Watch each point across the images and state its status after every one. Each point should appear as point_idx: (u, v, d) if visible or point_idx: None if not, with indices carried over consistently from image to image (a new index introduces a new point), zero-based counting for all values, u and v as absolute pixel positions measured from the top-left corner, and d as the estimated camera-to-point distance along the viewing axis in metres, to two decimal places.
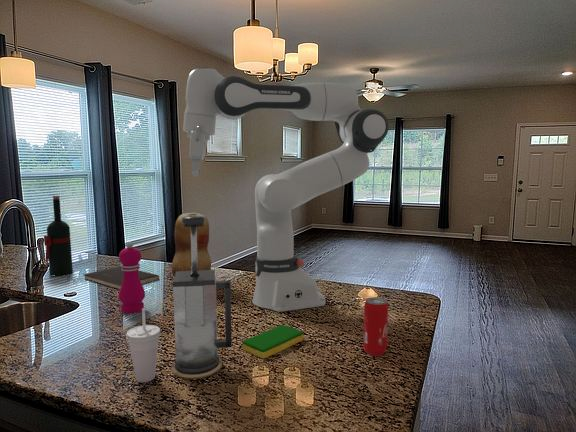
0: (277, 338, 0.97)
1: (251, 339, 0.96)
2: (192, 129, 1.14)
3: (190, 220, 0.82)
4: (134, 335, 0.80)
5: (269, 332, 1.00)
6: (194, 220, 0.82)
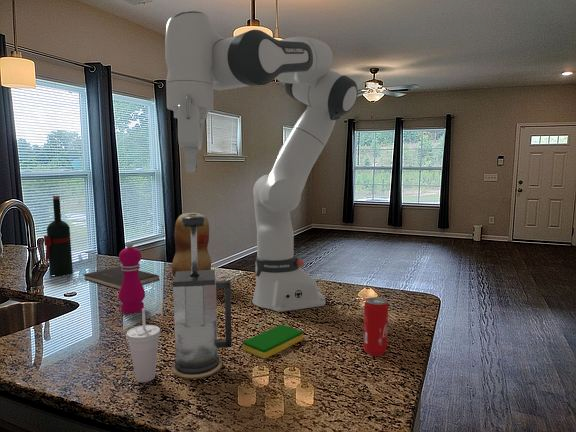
0: (277, 338, 0.97)
1: (251, 339, 0.96)
2: (180, 103, 0.77)
3: (190, 220, 0.82)
4: (134, 335, 0.80)
5: (269, 332, 1.00)
6: (194, 220, 0.82)
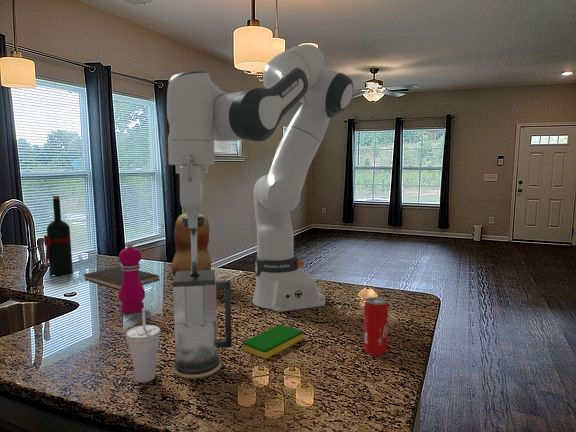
0: (277, 338, 0.97)
1: (251, 339, 0.96)
2: (181, 162, 0.78)
3: None
4: (134, 335, 0.80)
5: (269, 332, 1.00)
6: None
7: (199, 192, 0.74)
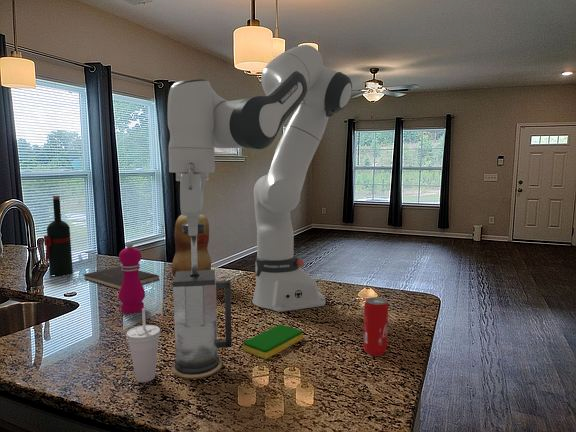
0: (277, 338, 0.97)
1: (252, 340, 0.96)
2: (182, 170, 0.78)
3: None
4: (134, 335, 0.80)
5: (268, 332, 1.00)
6: None
7: (199, 200, 0.74)
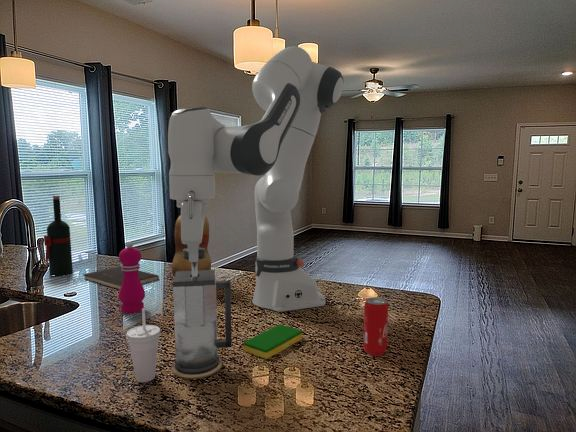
0: (278, 338, 0.97)
1: (252, 340, 0.96)
2: (182, 197, 0.79)
3: None
4: (134, 335, 0.80)
5: (268, 332, 1.00)
6: None
7: (200, 229, 0.74)
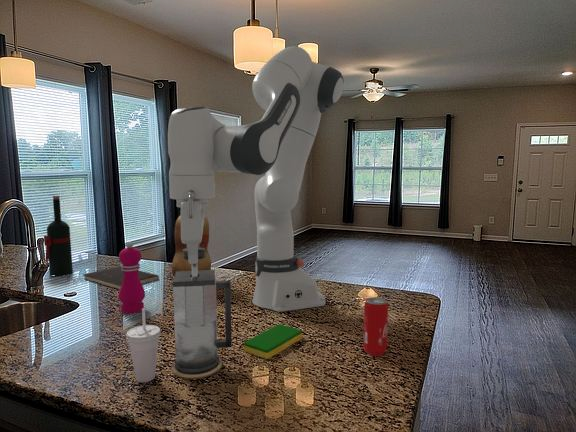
0: (278, 338, 0.97)
1: (252, 340, 0.96)
2: (182, 197, 0.79)
3: None
4: (134, 335, 0.80)
5: (268, 332, 1.00)
6: None
7: (200, 229, 0.74)
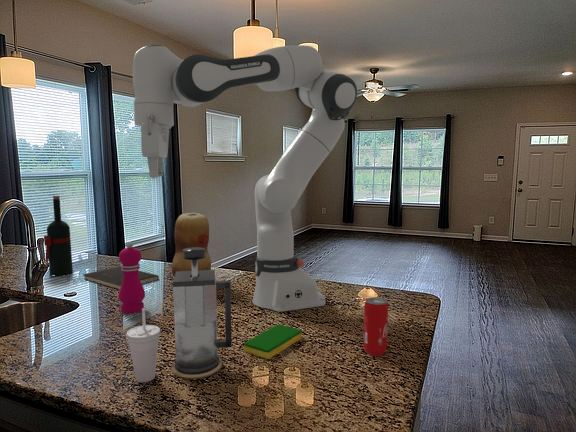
0: (278, 338, 0.97)
1: (252, 340, 0.96)
2: (144, 121, 0.94)
3: (191, 253, 0.82)
4: (134, 335, 0.80)
5: (268, 332, 1.00)
6: (195, 253, 0.82)
7: (157, 144, 0.90)
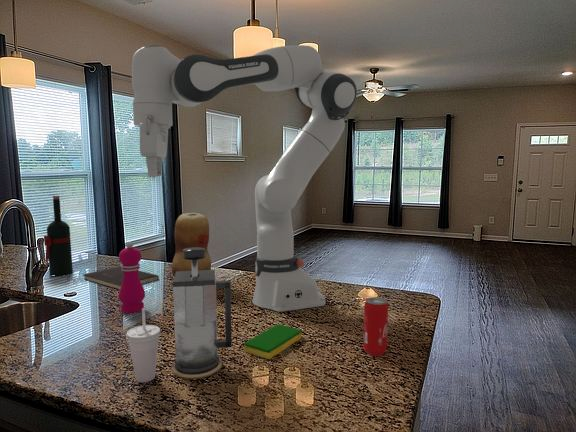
0: (278, 338, 0.97)
1: (252, 340, 0.96)
2: (143, 121, 0.95)
3: (191, 253, 0.82)
4: (134, 335, 0.80)
5: (268, 332, 1.00)
6: (195, 253, 0.82)
7: (155, 144, 0.90)
